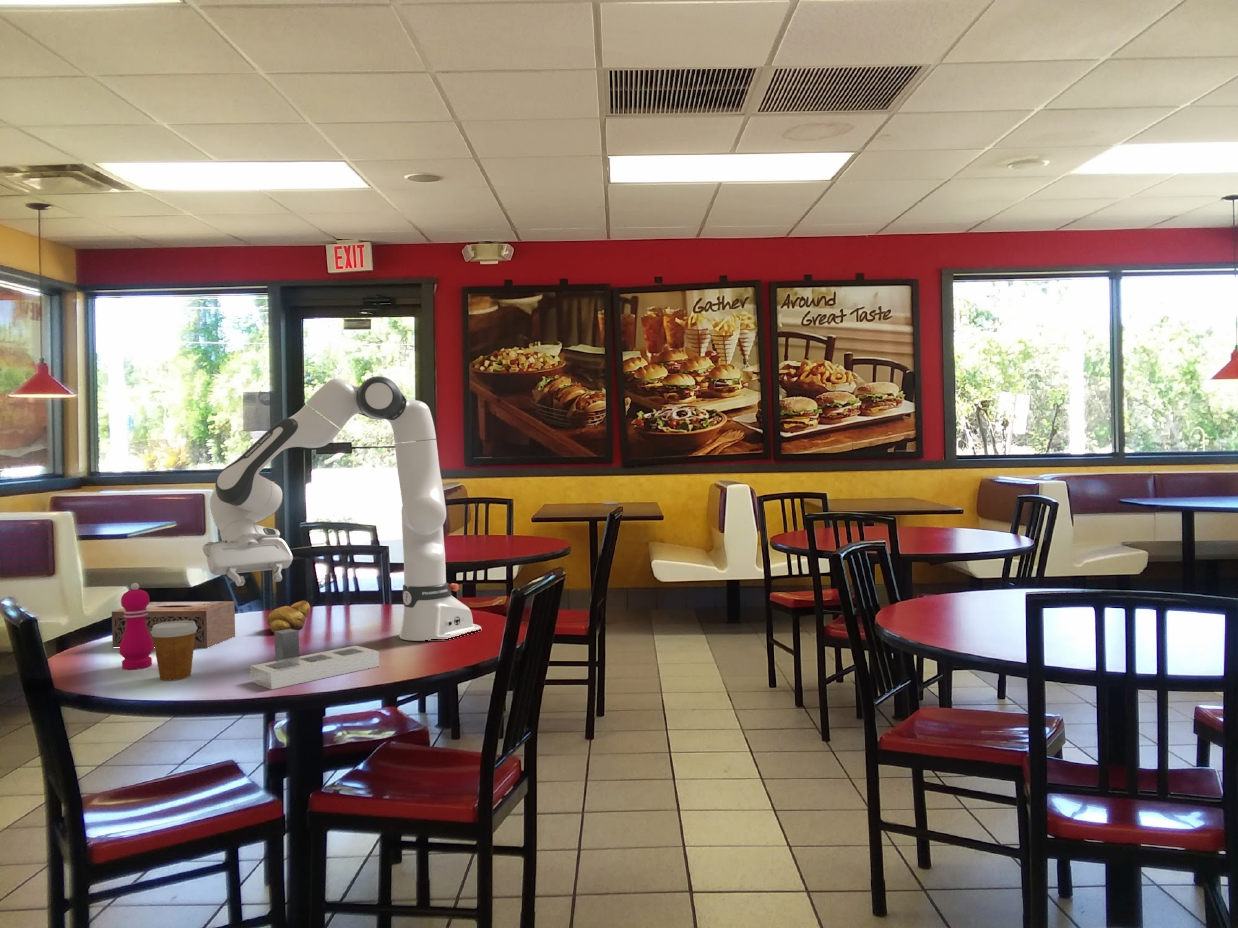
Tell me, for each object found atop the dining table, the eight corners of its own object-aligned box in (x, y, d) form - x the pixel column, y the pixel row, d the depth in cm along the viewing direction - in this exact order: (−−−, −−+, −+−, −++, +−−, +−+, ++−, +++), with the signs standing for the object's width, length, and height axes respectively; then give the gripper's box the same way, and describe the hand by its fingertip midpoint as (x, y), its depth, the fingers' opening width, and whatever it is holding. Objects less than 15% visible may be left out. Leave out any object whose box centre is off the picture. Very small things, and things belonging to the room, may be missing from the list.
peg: (291, 661, 214) (290, 628, 214) (299, 664, 211) (298, 630, 211) (275, 664, 211) (274, 631, 211) (283, 667, 208) (282, 633, 208)
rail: (356, 659, 215) (356, 645, 215) (379, 666, 208) (378, 651, 208) (250, 681, 196) (250, 665, 196) (271, 689, 189) (271, 672, 189)
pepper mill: (139, 670, 208) (136, 585, 208) (112, 669, 209) (110, 585, 209) (161, 663, 215) (158, 580, 215) (135, 662, 216) (132, 580, 216)
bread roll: (285, 635, 246) (284, 606, 246) (255, 634, 249) (255, 605, 249) (314, 626, 258) (313, 599, 258) (285, 625, 261) (284, 598, 261)
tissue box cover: (235, 637, 246) (234, 601, 246) (207, 649, 231) (206, 610, 231) (145, 637, 248) (145, 602, 248) (112, 649, 233) (111, 611, 233)
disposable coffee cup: (166, 671, 206) (164, 620, 206) (206, 671, 206) (205, 619, 206) (142, 682, 197) (141, 628, 197) (185, 682, 196) (183, 628, 196)
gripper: (204, 534, 217) (221, 578, 210) (284, 529, 232) (303, 569, 225) (196, 551, 220) (213, 595, 213) (276, 545, 235) (294, 585, 228)
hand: (260, 582), depth 219 cm, fingers open, 8 cm apart
